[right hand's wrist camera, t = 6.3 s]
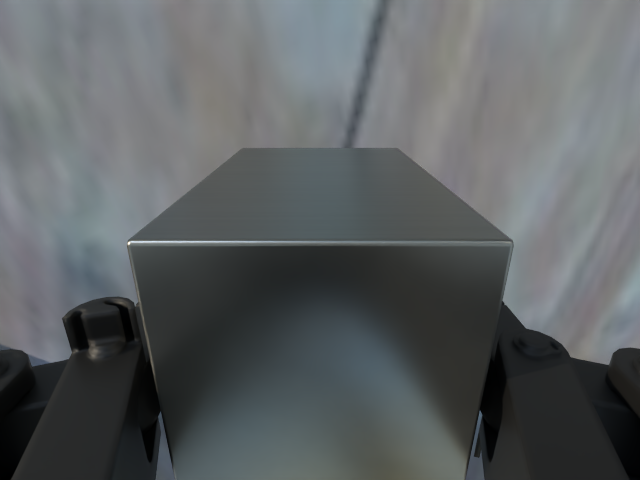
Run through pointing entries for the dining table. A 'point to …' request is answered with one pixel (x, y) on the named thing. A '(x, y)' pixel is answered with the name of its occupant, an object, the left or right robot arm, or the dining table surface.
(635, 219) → the dining table surface
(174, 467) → the bar
